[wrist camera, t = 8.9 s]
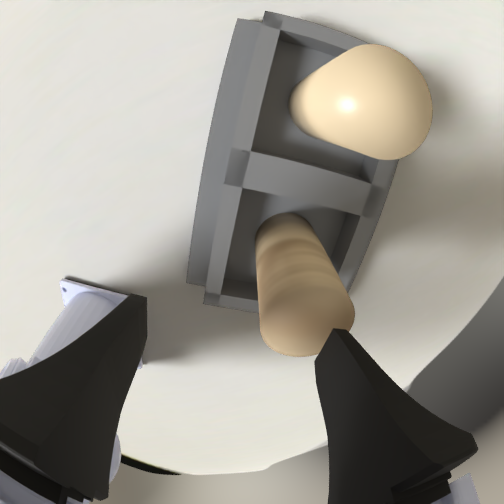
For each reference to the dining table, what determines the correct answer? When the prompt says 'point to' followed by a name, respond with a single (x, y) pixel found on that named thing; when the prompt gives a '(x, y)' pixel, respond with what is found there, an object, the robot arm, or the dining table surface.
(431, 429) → the robot arm
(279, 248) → the oak peg
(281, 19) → the rack
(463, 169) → the dining table surface
